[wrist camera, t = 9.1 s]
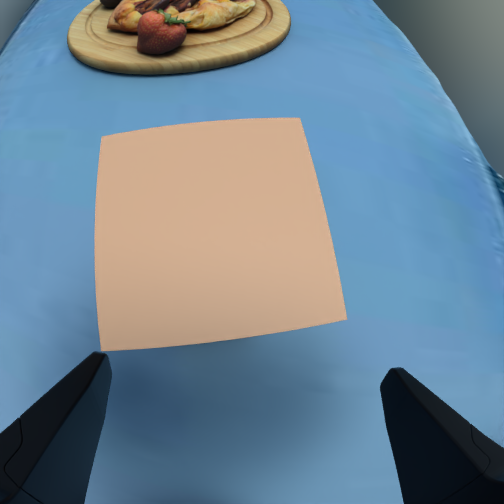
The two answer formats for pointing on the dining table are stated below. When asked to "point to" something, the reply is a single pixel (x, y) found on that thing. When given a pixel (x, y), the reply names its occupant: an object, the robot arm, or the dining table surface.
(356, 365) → the dining table surface
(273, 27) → the wooden plate with food
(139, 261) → the peach block
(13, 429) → the robot arm
